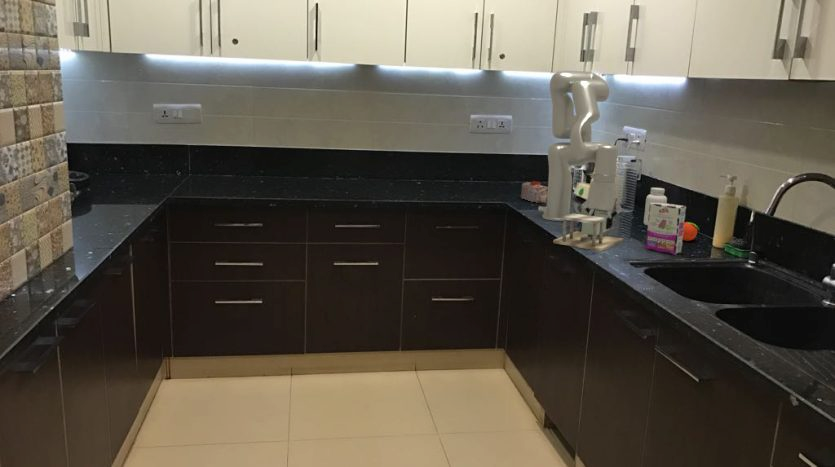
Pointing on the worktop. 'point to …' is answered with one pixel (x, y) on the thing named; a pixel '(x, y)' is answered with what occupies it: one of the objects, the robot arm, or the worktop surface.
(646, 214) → the pill bottle
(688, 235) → the clementine
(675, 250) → the candy bar box
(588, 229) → the pale green block
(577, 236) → the overhang stand
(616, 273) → the worktop surface
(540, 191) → the food item
